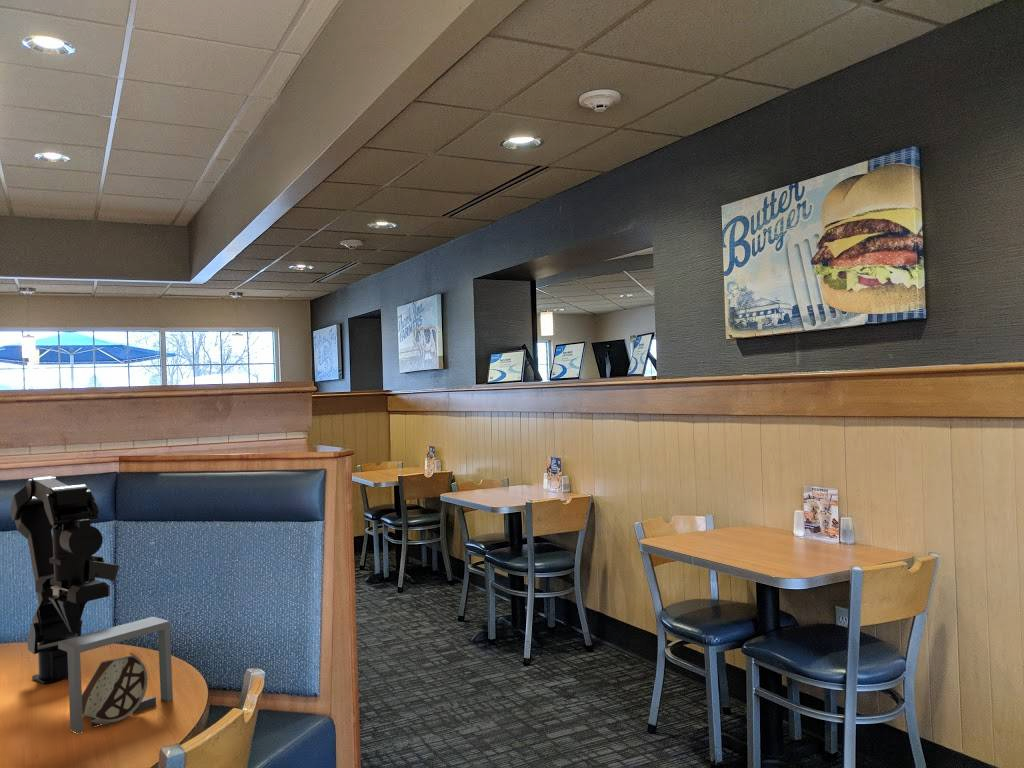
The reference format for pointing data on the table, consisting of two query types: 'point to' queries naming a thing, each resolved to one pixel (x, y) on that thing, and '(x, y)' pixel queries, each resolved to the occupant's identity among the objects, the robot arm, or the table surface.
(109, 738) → the table surface
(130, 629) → the overhang shelf
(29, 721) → the table surface
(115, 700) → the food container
